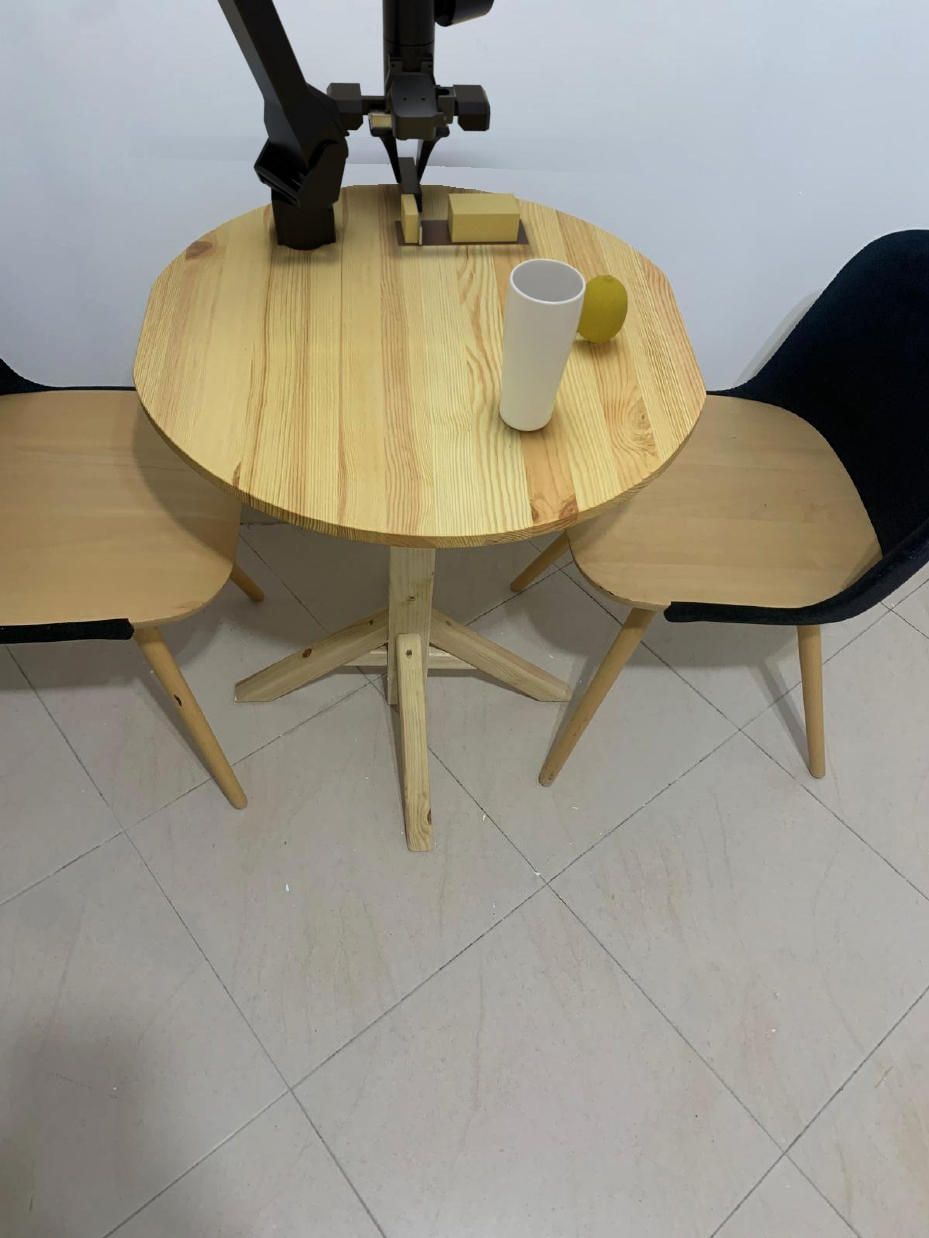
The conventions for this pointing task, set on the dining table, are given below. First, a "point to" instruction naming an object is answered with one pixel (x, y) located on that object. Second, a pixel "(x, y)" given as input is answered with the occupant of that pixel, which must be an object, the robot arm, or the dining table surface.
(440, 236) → the board
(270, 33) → the robot arm
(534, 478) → the dining table surface
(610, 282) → the lemon
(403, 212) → the butter slice
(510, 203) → the butter stick
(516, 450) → the dining table surface
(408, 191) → the knife
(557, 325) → the drinking glass
